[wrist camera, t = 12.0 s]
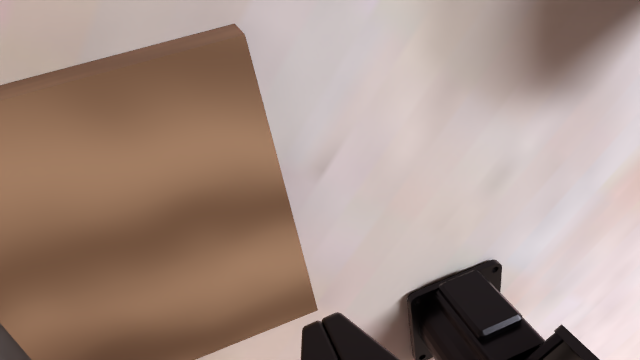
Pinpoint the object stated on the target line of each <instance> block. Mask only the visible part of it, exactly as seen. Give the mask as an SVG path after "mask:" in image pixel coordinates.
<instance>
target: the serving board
mask: <svg viewBox="0 0 640 360" xmlns="http://www.w3.org/2000/svg"><path fill="white" fill-rule="evenodd" d="M317 310H318V309H317V306H316V302H315V298H314V294H313V291H312V287H311V283H310V279H309V275H308V272H307V268H306V264H305V260H304V256H303V253H302V249H301V245H300V241H299V238H298V234H297V230H296V226H295V222H294V219H293V215H292V211H291V207H290V204H289V200H288V196H287V192H286V188H285V185H284V181H283V177H282V173H281V170H280V166H279V162H278V158H277V154H276V151H275V147H274V143H273V139H272V136H271V132H270V128H269V124H268V120H267V117H266V113H265V109H264V105H263V102H262V98H261V94H260V90H259V86H258V83H257V79H256V75H255V71H254V68H253V64H252V60H251V56H250V52H249V49H248V45H247V41H246V37H245V34H244V33H243V32H242V31H241V30H240V29H239V28H238V27H237V26H236V25H235V24H232V25H228V26H224V27H220V28H216V29H213V30H209V31H205V32H201V33H197V34H194V35H190V36H186V37H182V38H178V39H175V40H171V41H167V42H163V43H159V44H156V45H152V46H148V47H144V48H140V49H137V50H133V51H129V52H125V53H122V54H118V55H114V56H110V57H106V58H103V59H99V60H95V61H91V62H87V63H84V64H80V65H76V66H72V67H68V68H65V69H61V70H57V71H53V72H49V73H46V74H42V75H38V76H34V77H30V78H27V79H23V80H19V81H15V82H11V83H8V84H4V85H0V323H1V325H2V326H3V327H4V328H5V329H6V330H7V332H8V333H9V334H10V335H11V336H12V337H13V339H14V340H15V341H16V342H17V343H18V344H19V346H20V347H21V348H22V349H23V350H24V351H25V353H26V354H27V355H28V356H29V357H30V358H31V360H195V359H198V358H200V357H203V356H205V355H208V354H210V353H213V352H215V351H218V350H220V349H223V348H225V347H227V346H230V345H232V344H235V343H237V342H240V341H242V340H245V339H247V338H250V337H252V336H255V335H257V334H260V333H262V332H265V331H267V330H270V329H272V328H275V327H277V326H280V325H282V324H285V323H287V322H290V321H292V320H295V319H297V318H300V317H302V316H305V315H307V314H310V313H312V312H315V311H317Z"/></svg>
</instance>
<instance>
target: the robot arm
mask: <svg viewBox="0 0 640 360" xmlns="http://www.w3.org/2000/svg"><path fill="white" fill-rule="evenodd" d="M501 272H502V265H501V264H500V263H499V262H498V261H497V260H491V261H488V262H486V263H483V264H481V265H479V266H476V267H474V268H471V269H469V270H466V271H464V272H462V273H459V274H457V275H454V276H452V277H449V278H447V279H445V280H442V281H440V282H437V283H435V284H432V285H430V286H428V287H425V288H423V289H420V290H418V291H415V292H413V293H412V294H410V295H409V297H408V300H407V302H408V312H409V322H410V332H411V341H412V351H413V357H414V358H415V360H427V359H430V358H432V357H434V359H435V360H599V359H598V358H597V357H596V356H595V355H594V354H593V353H592V352H591V351H590V350H589V349H587V348H586V347H585V346H584V345H583V344H582V343H581V342H580V341H579V340H578V339H577V338H576V337H575V336H573V335H572V334H571V333H570V332H569V331H568V330H567V329H566V328H565V327H564V326H563V325H560V326H559V327H558V328H557V329H556V330H555V333H554V334H553V335H552V336H550V337H549V338H548V339H547V340H546V341H545V340H544V339H543V338H542V337H541V336H540V335H539V334H538V333H537V332H536V331H535V330H534V329H533V328H532V326H531V325H530V324H529V323H528V322H527V321H526V320H525V319H524V318H523V317H522V315H521V314H520V313H519V312H518V311H517V310H516V309H515V308H514V307H513V305H512V304H511V303H510V302H509V301H508V300H507V299H506V298H505V297H504V296H503V295H502V294H501V293H500V288H501ZM301 360H399V359H398V358H397V357H396V356H394V355H393V354H392V353H391V352H389V351H388V350H387V349H386V348H384V347H383V346H382V345H380V344H379V343H378V342H377V341H375V340H374V339H373V338H372V337H370V336H369V335H368V334H367V333H365V332H364V331H363V330H361V329H360V328H359V327H358V326H356V325H355V324H354V323H353V322H351V321H350V320H349V319H348V318H346V317H345V316H344V315H342V314H341V313H338V312H337V313H334V314H332V315H329V316H327V317H325V318H323V319H322V322H321V321H316V322H313V323H311V324H309V325H306V326H305V327H304V328H303V330H302V347H301Z"/></svg>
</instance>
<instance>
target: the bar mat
mask: <svg viewBox="0 0 640 360" xmlns="http://www.w3.org/2000/svg"><path fill="white" fill-rule="evenodd" d="M0 360H31V358H30V357H29V356H28V355H27V354H26V353H25V351H24V350H23V349H22V348H21V347H20V346H19V344H18V343H17V342H16V341H15V340H14V339H13V337H12V336H11V335H10V334H9V333H8V332H7V330H6V329H5V328H4V327H3V326H2V325H1V323H0Z"/></svg>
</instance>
